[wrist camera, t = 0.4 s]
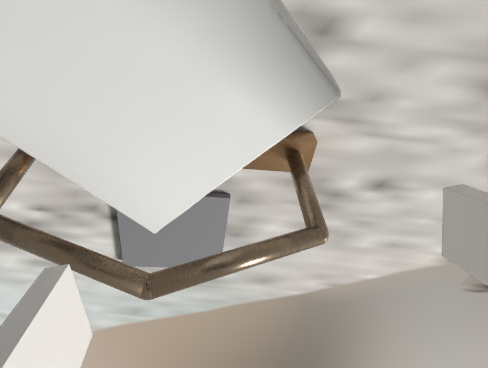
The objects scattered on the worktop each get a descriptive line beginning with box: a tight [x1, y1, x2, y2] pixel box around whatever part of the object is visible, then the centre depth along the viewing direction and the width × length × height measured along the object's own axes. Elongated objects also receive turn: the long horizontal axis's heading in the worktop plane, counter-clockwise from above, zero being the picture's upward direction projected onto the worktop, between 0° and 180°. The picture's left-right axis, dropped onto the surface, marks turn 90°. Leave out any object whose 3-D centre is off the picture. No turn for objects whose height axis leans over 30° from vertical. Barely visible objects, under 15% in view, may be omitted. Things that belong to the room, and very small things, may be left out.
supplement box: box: [0, 0, 341, 234], centre depth 16 cm, size 9×9×15 cm
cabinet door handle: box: [0, 131, 329, 300], centre depth 22 cm, size 3×22×15 cm, turn 82°
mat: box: [117, 193, 230, 268], centre depth 34 cm, size 10×10×1 cm
